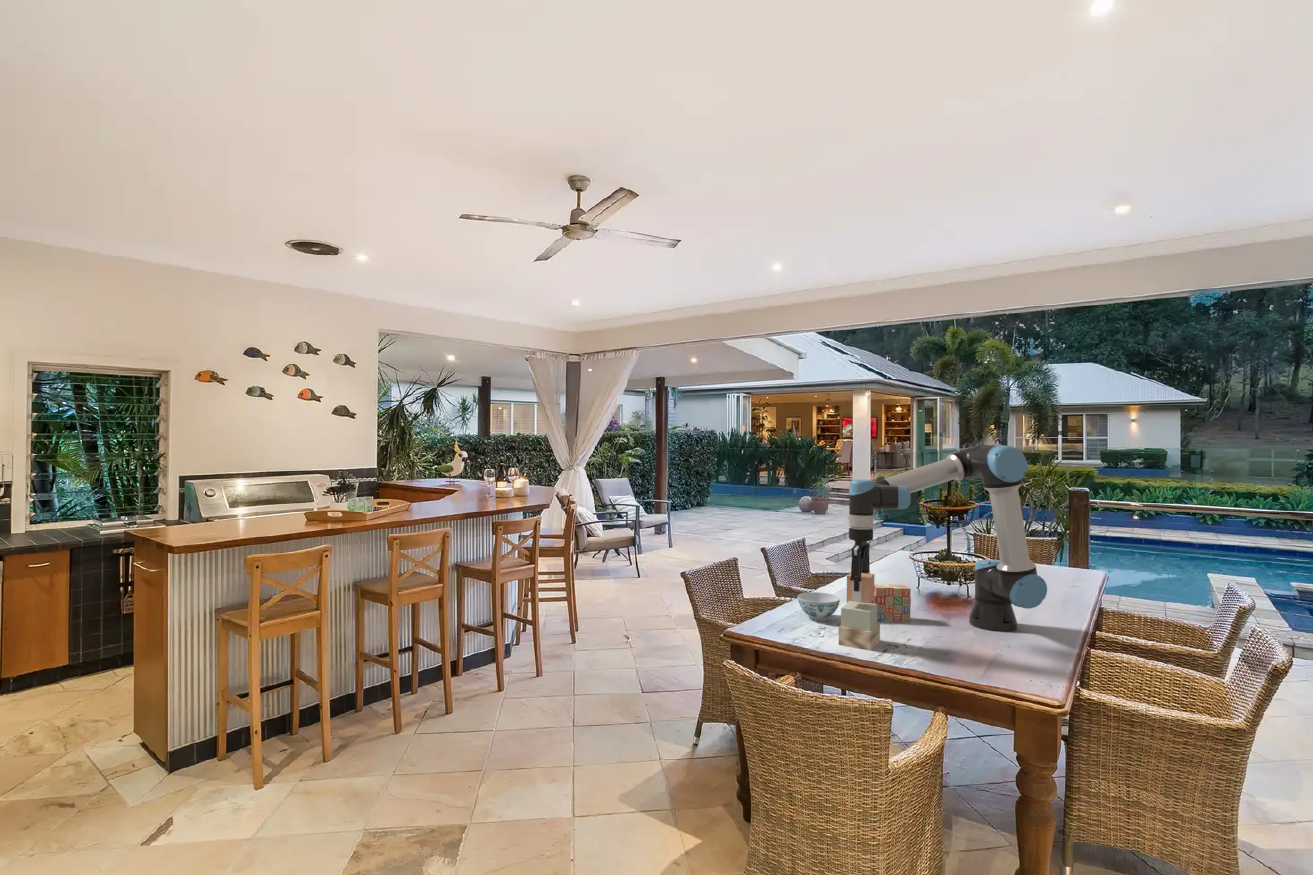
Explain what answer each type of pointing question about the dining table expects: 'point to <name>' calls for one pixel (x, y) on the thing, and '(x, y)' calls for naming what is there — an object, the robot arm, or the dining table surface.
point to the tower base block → (859, 637)
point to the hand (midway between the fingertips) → (860, 598)
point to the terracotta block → (866, 588)
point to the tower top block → (859, 615)
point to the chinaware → (818, 604)
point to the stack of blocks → (892, 602)
